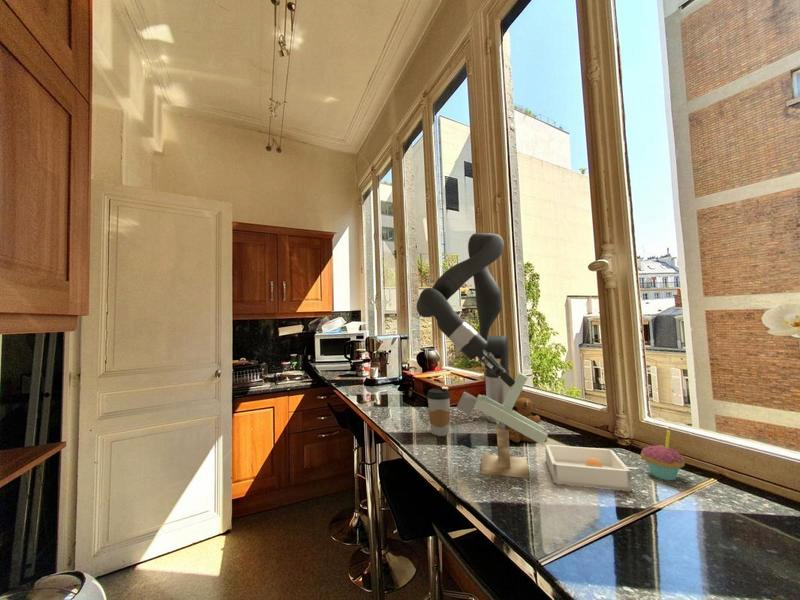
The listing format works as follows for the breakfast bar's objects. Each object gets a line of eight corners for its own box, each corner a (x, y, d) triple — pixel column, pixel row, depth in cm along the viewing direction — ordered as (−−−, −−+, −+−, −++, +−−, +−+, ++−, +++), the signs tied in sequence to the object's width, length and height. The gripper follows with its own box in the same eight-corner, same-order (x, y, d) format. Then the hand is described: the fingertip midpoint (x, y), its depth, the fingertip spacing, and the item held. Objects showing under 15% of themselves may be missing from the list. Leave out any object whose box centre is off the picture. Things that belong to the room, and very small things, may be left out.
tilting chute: (456, 408, 89) (480, 357, 88) (459, 399, 98) (482, 353, 97) (538, 454, 83) (566, 400, 81) (534, 441, 92) (559, 392, 91)
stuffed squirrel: (549, 441, 106) (547, 399, 107) (514, 447, 101) (511, 404, 102) (528, 431, 116) (526, 393, 116) (494, 437, 111) (492, 398, 112)
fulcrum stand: (480, 473, 85) (478, 430, 86) (482, 457, 95) (480, 419, 96) (529, 478, 82) (527, 433, 83) (526, 461, 92) (524, 421, 92)
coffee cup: (451, 429, 120) (449, 388, 121) (452, 437, 112) (450, 393, 113) (428, 429, 121) (427, 388, 122) (428, 437, 113) (426, 393, 114)
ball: (599, 462, 84) (584, 464, 85) (596, 452, 83) (581, 455, 84) (606, 474, 81) (590, 477, 82) (603, 465, 80) (587, 468, 81)
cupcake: (676, 470, 84) (672, 422, 84) (693, 486, 76) (689, 434, 76) (637, 466, 87) (633, 420, 87) (649, 481, 78) (645, 431, 79)
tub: (553, 483, 79) (552, 464, 79) (546, 460, 91) (545, 444, 92) (632, 491, 74) (630, 471, 75) (612, 466, 87) (611, 449, 87)
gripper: (461, 347, 104) (503, 388, 100) (456, 351, 91) (503, 398, 87) (478, 331, 103) (521, 371, 98) (475, 332, 90) (524, 379, 86)
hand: (512, 384), depth 93 cm, fingers closed
